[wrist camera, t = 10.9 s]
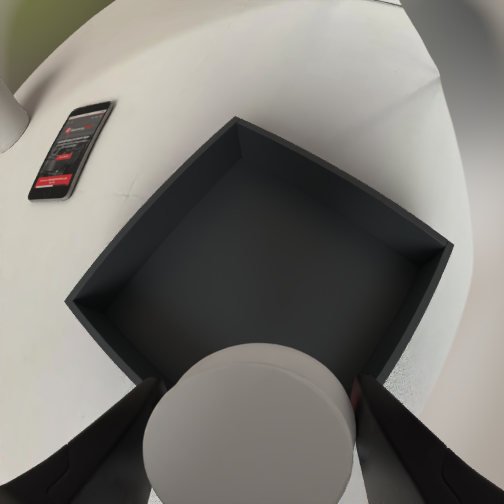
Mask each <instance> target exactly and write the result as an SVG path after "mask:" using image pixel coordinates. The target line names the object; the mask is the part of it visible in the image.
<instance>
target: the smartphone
mask: <svg viewBox="0 0 504 504" xmlns="http://www.w3.org/2000/svg"><path fill="white" fill-rule="evenodd" d="M112 107H113V103H112V102H111V101H108V102H103V103H98V104H93V105H89V106H85V107H80V108H76V109H74V110H73V111H72V112H71V113H70V115H69V117H68V118H67V120H66V122H65V123H64V125H63V127H62V129H61V130H60V132H59V134H58V136H57V137H56V139H55V141H54V143H53V145H52V147H51V148H50V150H49V152H48V154H47V156H46V158H45V160H44V162H43V164H42V166H41V168H40V170H39V172H38V174H37V177H36V179H35V181H34V183H33V185H32V188H31V190H30V192H29V195H28V200H29V201H31V202H44V201H64V200H67V199H68V198H69V197H70V195H71V193H72V190H73V188H74V186H75V183H76V181H77V178H78V176H79V174H80V171H81V169H82V167H83V165H84V162H85V160H86V158H87V156H88V154H89V152H90V150H91V147H92V145H93V143H94V141H95V139H96V137H97V135H98V133H99V131H100V130H101V128H102V126H103V124H104V122H105V120H106V118H107V116H108V115H109V113H110V111H111V109H112Z"/></svg>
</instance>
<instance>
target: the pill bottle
mask: <svg viewBox="0 0 504 504" xmlns="http://www.w3.org/2000/svg"><path fill="white" fill-rule="evenodd" d="M355 439H356V421H355V415H354V411H353V407H352V404H351V402H350V400H349V398H348V396H347V393H346V391H345V390H344V388H343V386H342V385H341V383H340V382H339V380H338V379H337V378H336V377H335V376H334V374H333V373H332V372H331V371H330V370H329V369H328V368H326V367H325V366H324V365H323V364H321V363H320V362H319V361H317V360H316V359H314V358H312V357H311V356H309V355H307V354H305V353H303V352H301V351H298V350H296V349H293V348H290V347H286V346H281V345H277V344H268V343H249V344H241V345H236V346H232V347H228V348H225V349H222V350H220V351H217V352H215V353H213V354H211V355H209V356H207V357H205V358H203V359H202V360H200V361H199V362H198V363H196V364H195V365H194V366H192V367H191V368H190V369H189V370H188V371H187V372H186V373H185V374H184V375H183V376H182V377H181V379H180V380H179V381H178V383H177V384H176V385H175V386H174V387H173V388H171V389H170V390H169V391H168V392H167V393H166V394H165V395H164V396H163V397H162V398H161V400H160V401H159V402H158V404H157V405H156V407H155V408H154V410H153V412H152V414H151V416H150V418H149V420H148V423H147V426H146V429H145V433H144V439H143V459H144V466H145V470H146V473H147V476H148V479H149V481H150V483H151V485H152V487H153V490H154V491H155V493H156V495H157V496H158V498H159V499H160V500H161V502H162V503H163V504H337V503H338V501H339V500H340V498H341V497H342V495H343V493H344V492H345V489H346V487H347V484H348V482H349V479H350V477H351V472H352V466H353V451H354V446H355Z"/></svg>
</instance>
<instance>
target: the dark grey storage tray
mask: <svg viewBox="0 0 504 504" xmlns="http://www.w3.org/2000/svg"><path fill="white" fill-rule="evenodd" d="M453 247H454V244H452V243H451V242H450V241H448V240H447V239H446V238H444V237H443V236H442V235H440V234H439V233H438V232H436V231H435V230H434V229H432V228H431V227H429V226H428V225H427V224H425V223H424V222H422V221H421V220H420V219H418V218H417V217H415V216H414V215H412V214H411V213H409V212H408V211H407V210H405V209H404V208H402V207H401V206H399V205H398V204H396V203H394V202H393V201H391V200H390V199H388V198H387V197H385V196H384V195H382V194H381V193H379V192H377V191H376V190H374V189H373V188H371V187H369V186H368V185H366V184H364V183H363V182H361V181H359V180H358V179H356V178H354V177H353V176H351V175H349V174H348V173H346V172H344V171H343V170H341V169H339V168H337V167H336V166H334V165H332V164H330V163H328V162H327V161H325V160H323V159H321V158H319V157H317V156H316V155H314V154H312V153H310V152H308V151H306V150H304V149H302V148H301V147H299V146H297V145H295V144H293V143H291V142H289V141H287V140H285V139H283V138H281V137H279V136H277V135H275V134H273V133H271V132H269V131H266V130H264V129H262V128H260V127H258V126H256V125H254V124H251V123H249V122H247V121H245V120H243V119H240V118H238V117H236V116H235V117H233V118H232V119H231V120H230V121H229V122H228V123H227V124H226V125H224V126H223V127H222V128H221V129H220V130H219V131H218V132H217V133H215V134H214V135H213V136H212V137H211V138H210V139H209V140H208V141H207V142H206V143H205V144H203V145H202V146H201V147H200V148H199V149H198V150H197V151H196V152H195V153H194V154H193V155H192V156H191V157H190V158H189V159H188V160H187V161H186V162H185V163H184V164H183V165H182V166H181V167H180V168H179V169H178V170H177V171H176V172H175V173H174V174H173V175H172V176H171V177H170V178H169V179H168V180H167V181H166V182H165V183H164V184H163V185H162V186H161V187H160V188H159V189H158V190H157V191H156V192H155V193H154V194H153V195H152V196H151V197H150V198H149V199H148V200H147V202H146V203H145V204H144V205H143V206H142V207H141V208H140V209H139V210H138V211H137V212H136V214H135V215H134V216H133V217H132V218H131V219H130V220H129V221H128V222H127V224H126V225H125V226H124V227H123V228H122V229H121V230H120V232H119V233H118V234H117V235H116V236H115V237H114V239H113V240H112V241H111V242H110V243H109V245H108V246H107V247H106V248H105V249H104V251H103V252H102V253H101V254H100V255H99V257H98V258H97V259H96V260H95V262H94V263H93V264H92V265H91V267H90V268H89V269H88V270H87V272H86V273H85V274H84V276H83V277H82V278H81V279H80V281H79V282H78V283H77V285H76V286H75V287H74V289H73V290H72V291H71V293H70V294H69V295H68V297H67V298H66V300H65V301H64V302H65V303H66V305H67V306H68V307H69V309H70V310H71V311H72V313H73V314H74V315H75V316H76V318H77V319H78V320H79V322H80V323H81V324H82V325H83V327H84V328H85V329H86V330H87V332H88V333H89V334H90V335H91V336H92V338H93V339H94V340H95V341H96V342H97V344H98V345H99V346H100V347H101V348H102V349H103V350H104V352H105V353H106V354H107V355H108V356H109V357H110V358H111V359H112V361H113V362H114V363H115V364H116V365H117V366H118V367H119V368H120V369H121V370H122V371H123V372H124V373H125V375H126V376H127V377H128V378H129V379H130V380H131V381H132V382H133V383H134V384H135V385H136V386H138V385H139V384H140V383H141V382H142V381H143V380H145V379H146V378H147V377H150V376H151V377H160V378H162V379H163V381H164V383H165V386H166V389H167V391H169V390H170V389H171V388H173V387H174V386H175V385H176V384H177V383H178V381H179V380H180V379H181V377H182V376H183V375H184V374H185V373H186V372H187V371H188V370H189V369H190V368H191V367H192V366H194V365H195V364H196V363H198V362H199V361H200V360H202V359H203V358H205V357H207V356H209V355H211V354H213V353H215V352H217V351H220V350H222V349H225V348H228V347H232V346H236V345H241V344H249V343H268V344H277V345H281V346H286V347H290V348H293V349H296V350H298V351H301V352H303V353H305V354H307V355H309V356H311V357H312V358H314V359H316V360H317V361H319V362H320V363H321V364H323V365H324V366H325V367H326V368H328V369H329V370H330V371H331V372H332V373H333V374H334V376H335V377H336V378H337V379H338V380H339V382H340V383H341V385H342V386H343V388H344V390H345V391H346V393H347V396H348V398H349V400H350V402H351V392H352V388H353V384H354V379H355V377H356V376H357V375H360V374H371V375H372V376H373V377H374V378H375V379H376V380H377V381H379V382H380V383H381V384H382V385H383V384H384V383H385V381H386V380H387V378H388V376H389V375H390V373H391V372H392V370H393V368H394V367H395V365H396V364H397V362H398V360H399V359H400V357H401V355H402V353H403V352H404V350H405V348H406V347H407V345H408V343H409V341H410V339H411V338H412V336H413V334H414V332H415V330H416V328H417V327H418V325H419V323H420V321H421V319H422V317H423V315H424V313H425V311H426V309H427V307H428V305H429V303H430V301H431V299H432V296H433V294H434V292H435V290H436V288H437V286H438V283H439V281H440V279H441V277H442V274H443V272H444V270H445V267H446V265H447V262H448V260H449V257H450V255H451V252H452V250H453Z"/></svg>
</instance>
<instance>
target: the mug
mask: <svg viewBox="0 0 504 504" xmlns="http://www.w3.org/2000/svg"><path fill="white" fill-rule="evenodd" d="M28 123H29V116H28V114H27V113H26V112H25V110H24V109H23V108H22V107H21V105H20V104H19V103H18V102H17V100H16V99H15V98H14V96H13V95H12V93H11V92H10V91H9V89H8V88H7V87H6V85H5V84H4V82H3V81H2V80H1V78H0V153H3V152H5V151H6V150H8V149H9V148H10V147H11V146H12V145H13V144H14V143H15V142H16V141H17V140H18V139H19V138H20V137H21V135H22V134H23V132H24V131H25V129H26V128H27V126H28Z"/></svg>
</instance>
